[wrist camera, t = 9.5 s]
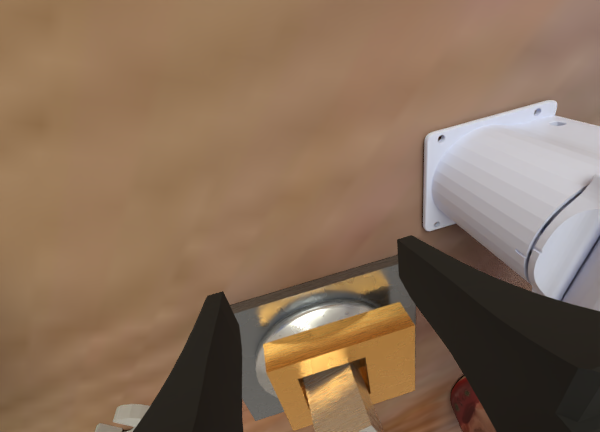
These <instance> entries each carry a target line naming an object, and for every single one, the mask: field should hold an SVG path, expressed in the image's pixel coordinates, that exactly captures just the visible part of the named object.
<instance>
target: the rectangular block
mask: <svg viewBox="0 0 600 432" xmlns="http://www.w3.org/2000/svg"><path fill="white" fill-rule="evenodd" d="M303 380H304V384H305V389H306V394H307V398H308V403H309V407H310V412H311V416H312V421H313V425H314V430H315V432H384V431H383V428H382V426H381V423H380V421H379V418H378V416H377V413H376V411H375V408H374V406H373V403H372V400H371V398H370V395H369V393H368V390H367V388H366V385H365V383H364V380H363V378H362V375H361V373H360V370H359V367H358V365H357V362H356V360H355V361H352V362H349V363H346V364H343V365H340V366H336V367H333V368H330V369H327V370H324V371H321V372H318V373H315V374H312V375H308V376H305V377H303Z"/></svg>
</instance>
